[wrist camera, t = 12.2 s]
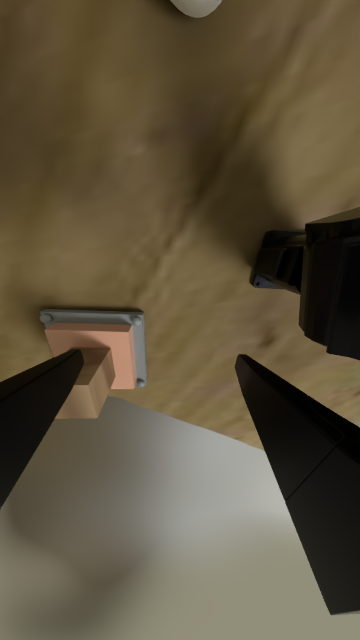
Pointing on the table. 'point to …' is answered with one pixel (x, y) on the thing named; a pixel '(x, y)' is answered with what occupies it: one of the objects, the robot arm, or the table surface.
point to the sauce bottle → (196, 7)
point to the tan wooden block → (90, 385)
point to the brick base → (106, 319)
